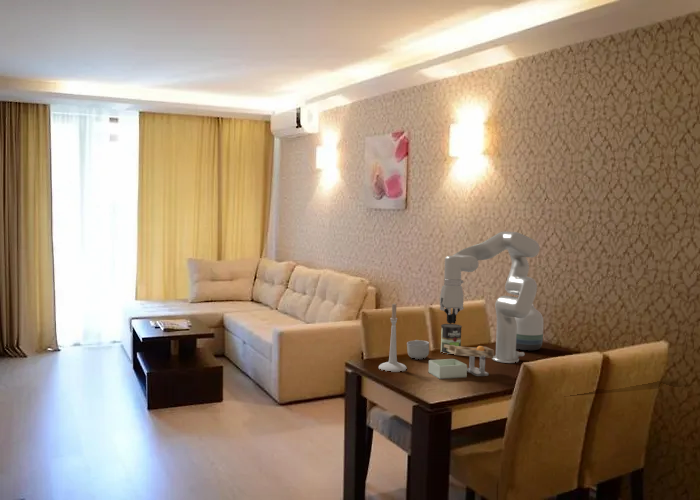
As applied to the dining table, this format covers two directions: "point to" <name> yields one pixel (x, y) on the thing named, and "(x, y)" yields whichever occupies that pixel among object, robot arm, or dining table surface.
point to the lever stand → (476, 371)
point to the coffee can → (450, 336)
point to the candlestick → (393, 348)
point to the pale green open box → (447, 368)
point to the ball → (480, 348)
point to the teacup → (418, 349)
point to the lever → (469, 351)
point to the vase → (530, 331)
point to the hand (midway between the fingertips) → (451, 322)
